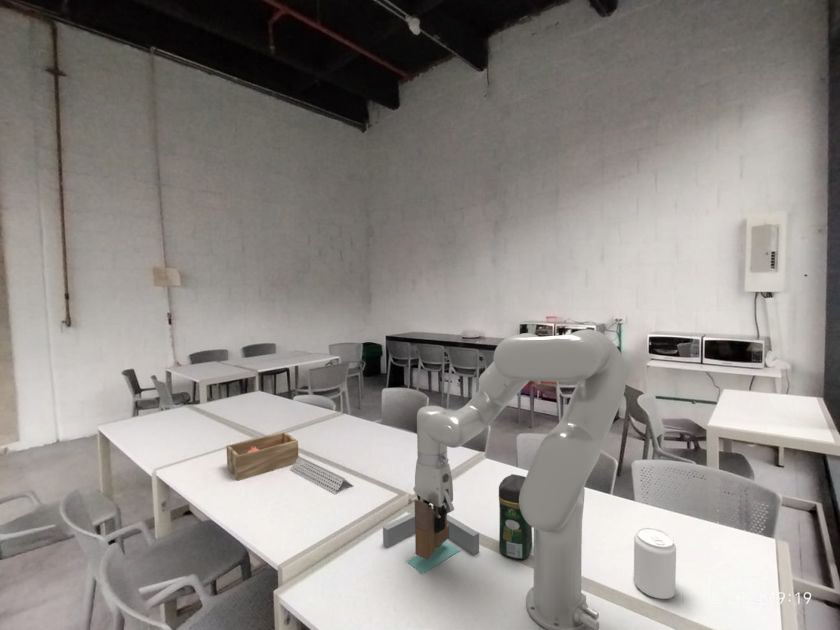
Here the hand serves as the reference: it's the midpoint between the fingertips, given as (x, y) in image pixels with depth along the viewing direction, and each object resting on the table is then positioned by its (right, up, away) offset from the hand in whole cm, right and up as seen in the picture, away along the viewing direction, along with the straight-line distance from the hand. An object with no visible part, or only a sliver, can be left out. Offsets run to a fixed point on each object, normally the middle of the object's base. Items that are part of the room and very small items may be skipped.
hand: (433, 525), depth 102 cm
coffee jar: (+22, -8, +3) cm, 23 cm away
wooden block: (0, -6, 0) cm, 6 cm away
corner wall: (-1, -8, +4) cm, 9 cm away
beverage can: (+50, -8, -12) cm, 52 cm away
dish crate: (-65, -6, +56) cm, 86 cm away
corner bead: (-40, -7, +45) cm, 61 cm away
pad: (0, -8, 0) cm, 8 cm away
